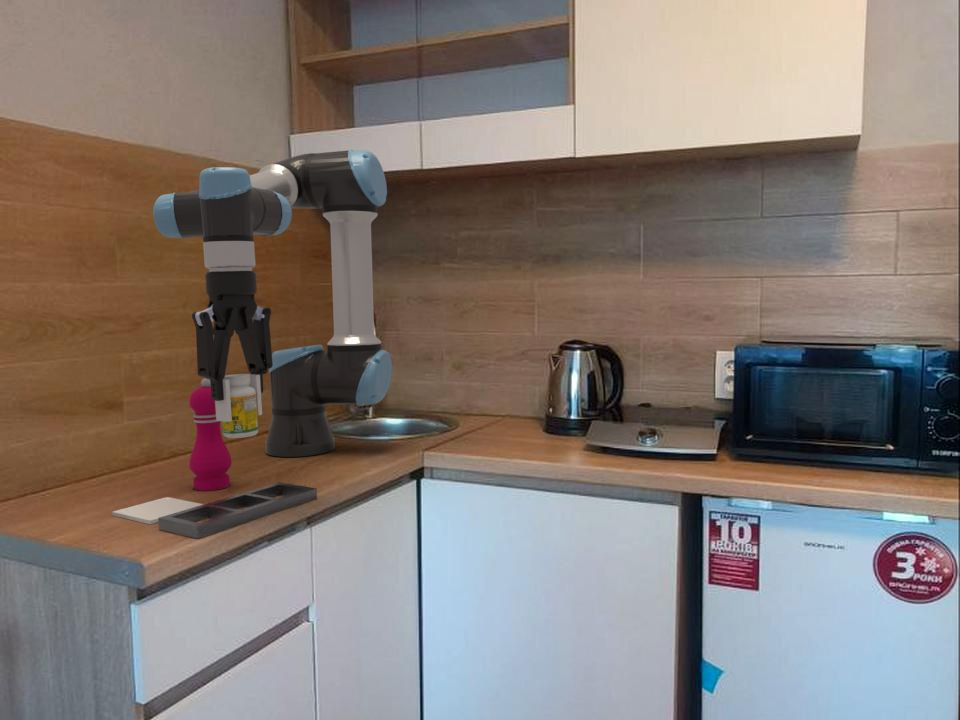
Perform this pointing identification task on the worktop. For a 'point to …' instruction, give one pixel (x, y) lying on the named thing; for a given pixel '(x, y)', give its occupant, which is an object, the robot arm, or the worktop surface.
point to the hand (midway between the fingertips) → (239, 417)
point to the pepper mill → (208, 443)
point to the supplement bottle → (241, 408)
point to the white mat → (154, 509)
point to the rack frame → (230, 516)
